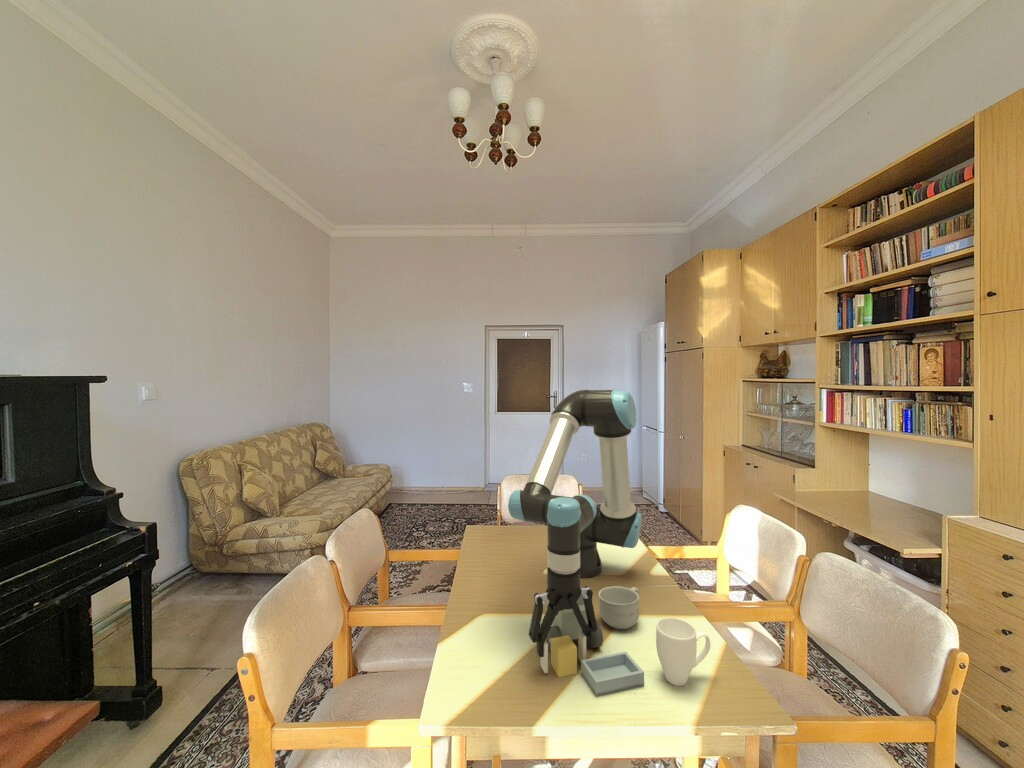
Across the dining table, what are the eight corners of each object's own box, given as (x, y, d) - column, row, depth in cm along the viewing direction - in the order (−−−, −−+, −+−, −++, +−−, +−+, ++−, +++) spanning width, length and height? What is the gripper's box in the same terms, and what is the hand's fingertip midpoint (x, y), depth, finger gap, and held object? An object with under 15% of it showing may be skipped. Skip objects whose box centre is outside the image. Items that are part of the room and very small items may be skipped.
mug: (667, 694, 91) (667, 640, 91) (649, 668, 99) (649, 618, 99) (720, 689, 92) (720, 636, 92) (698, 664, 101) (699, 615, 101)
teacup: (616, 638, 111) (616, 607, 111) (590, 618, 120) (590, 589, 120) (656, 624, 117) (656, 595, 117) (628, 606, 127) (628, 579, 127)
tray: (625, 664, 101) (625, 651, 101) (644, 685, 93) (644, 672, 93) (581, 673, 97) (581, 660, 97) (596, 696, 90) (596, 682, 90)
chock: (568, 660, 102) (568, 635, 102) (576, 673, 97) (576, 647, 97) (550, 663, 101) (550, 638, 101) (558, 677, 96) (558, 650, 96)
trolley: (582, 626, 116) (582, 579, 116) (602, 651, 105) (603, 600, 105) (538, 633, 113) (538, 585, 113) (554, 661, 102) (554, 608, 102)
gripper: (598, 556, 106) (598, 647, 106) (514, 566, 100) (513, 663, 100) (613, 568, 99) (613, 667, 99) (524, 580, 93) (523, 685, 93)
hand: (563, 665), depth 99 cm, fingers open, 9 cm apart
